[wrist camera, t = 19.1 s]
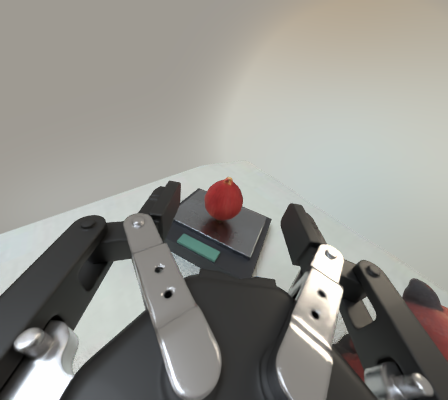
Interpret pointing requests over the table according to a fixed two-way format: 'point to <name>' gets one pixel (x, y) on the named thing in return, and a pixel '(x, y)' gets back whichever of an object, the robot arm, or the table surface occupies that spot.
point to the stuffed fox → (425, 313)
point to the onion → (223, 200)
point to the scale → (217, 237)
